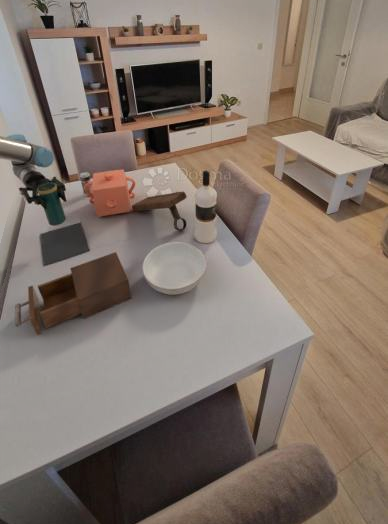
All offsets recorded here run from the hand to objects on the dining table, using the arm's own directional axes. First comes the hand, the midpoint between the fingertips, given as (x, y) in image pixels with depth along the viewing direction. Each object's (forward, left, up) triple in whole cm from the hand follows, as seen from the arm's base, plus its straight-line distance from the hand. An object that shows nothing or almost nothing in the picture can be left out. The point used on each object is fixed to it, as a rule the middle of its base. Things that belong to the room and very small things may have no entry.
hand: (55, 201), depth 96 cm
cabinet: (+27, +7, -22) cm, 35 cm away
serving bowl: (+33, +30, -22) cm, 50 cm away
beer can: (-38, +15, -22) cm, 46 cm away
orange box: (-17, +22, -22) cm, 35 cm away
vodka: (+20, +50, -22) cm, 58 cm away
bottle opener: (-1, +39, -22) cm, 45 cm away
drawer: (+27, -8, -21) cm, 35 cm away
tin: (-5, -1, -11) cm, 12 cm away
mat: (-5, -1, -22) cm, 23 cm away
